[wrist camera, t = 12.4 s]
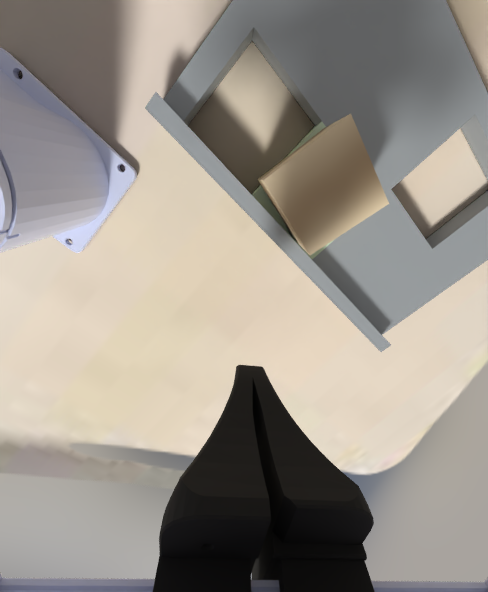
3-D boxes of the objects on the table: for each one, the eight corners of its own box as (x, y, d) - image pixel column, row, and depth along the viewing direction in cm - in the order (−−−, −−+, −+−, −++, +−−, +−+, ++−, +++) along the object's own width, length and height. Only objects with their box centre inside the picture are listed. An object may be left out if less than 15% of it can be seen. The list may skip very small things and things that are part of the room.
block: (257, 179, 17) (263, 180, 13) (323, 128, 16) (350, 113, 12) (295, 240, 19) (309, 255, 15) (357, 198, 17) (389, 203, 14)
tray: (159, 119, 16) (144, 108, 14) (348, -145, 12) (380, -238, 9) (364, 332, 24) (380, 352, 21) (523, 216, 20) (569, 222, 17)
